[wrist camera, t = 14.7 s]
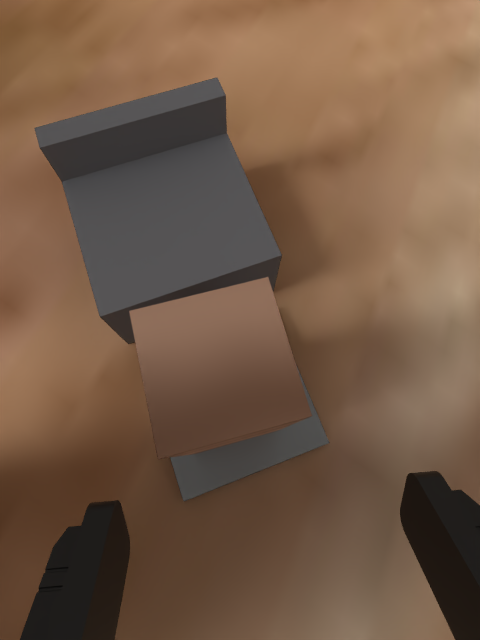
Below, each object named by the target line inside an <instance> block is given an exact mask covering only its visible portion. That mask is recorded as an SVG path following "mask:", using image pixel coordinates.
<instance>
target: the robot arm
mask: <svg viewBox="0 0 480 640" xmlns="http://www.w3.org/2000/svg"><path fill="white" fill-rule="evenodd" d="M400 517H401V522H402V526H403V529H404V532H405V534H406V536H407V538H408V540H409V543H410V545H411V547H412V549H413V551H414V553H415V555H416V557H417V560H418V562H419V564H420V566H421V568H422V570H423V572H424V574H425V576H426V579H427V581H428V583H429V585H430V587H431V589H432V591H433V593H434V596H435V598H436V600H437V602H438V604H439V606H440V608H441V610H442V612H443V615H444V617H445V619H446V621H447V623H448V625H449V627H450V629H451V631H452V634H453V636H454V638H455V640H480V505H478V504H477V503H476V502H475V501H474V500H472V499H471V498H470V497H469V496H468V495H466V494H465V493H464V492H463V491H462V490H454V491H452V490H451V489H450V487H449V486H448V484H447V483H446V481H445V479H444V478H443V477H442V475H441V474H440V473H439V472H437V471H430V472H418V473H409V474H408V476H407V479H406V483H405V488H404V493H403V498H402V502H401V507H400ZM129 554H130V539H129V533H128V529H127V526H126V522H125V518H124V514H123V511H122V507H121V503H120V501H118V500H116V501H105V502H94V503H90V504H89V505H88V507H87V510H86V513H85V516H84V519H83V522H82V526H73V527H68V528H67V529H66V531H65V532H64V533H63V535H62V536H61V537H60V539H59V540H58V541H57V543H56V544H55V545H54V547H53V549H52V552H51V555H50V558H49V560H48V563H47V566H46V571H45V573H44V574H43V577H42V580H41V583H40V585H39V591H38V592H37V594H36V596H35V599H34V602H33V605H32V607H31V610H30V613H29V616H28V619H27V621H26V624H25V627H24V630H23V632H22V635H21V638H20V640H114V639H115V634H116V628H117V623H118V617H119V612H120V606H121V601H122V595H123V590H124V584H125V579H126V573H127V567H128V562H129Z"/></svg>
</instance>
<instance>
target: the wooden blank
mask: <svg viewBox="0 0 480 640" xmlns="http://www.w3.org/2000/svg"><path fill="white" fill-rule="evenodd" d="M129 313H130V318H131V323H132V328H133V333H134V338H135V343H136V349H137V354H138V359H139V364H140V369H141V374H142V379H143V385H144V390H145V395H146V400H147V405H148V410H149V415H150V421H151V426H152V431H153V436H154V441H155V446H156V451H157V457H158V459H163V458H170V457H177V456H184V455H192V454H197V453H200V452H204V451H207V450H211V449H214V448H218V447H221V446H225V445H229V444H232V443H236V442H239V441H243V440H246V439H250V438H253V437H257V436H261V435H264V434H268V433H271V432H275V431H278V430H281V429H283V428H285V427H288V426H290V425H292V424H295V423H297V422H299V421H302V420H304V419H306V418H309V417H311V416H312V414H311V411H310V407H309V404H308V401H307V398H306V395H305V392H304V388H303V385H302V382H301V379H300V376H299V373H298V369H297V366H296V363H295V360H294V357H293V354H292V350H291V347H290V344H289V341H288V338H287V335H286V332H285V328H284V325H283V322H282V319H281V316H280V313H279V309H278V306H277V303H276V300H275V297H274V294H273V290H272V287H271V284H270V281H269V278H268V277H266V278H261V279H257V280H253V281H249V282H245V283H241V284H237V285H233V286H229V287H225V288H221V289H217V290H213V291H208V292H204V293H200V294H196V295H192V296H188V297H184V298H180V299H176V300H172V301H168V302H164V303H160V304H155V305H151V306H147V307H143V308H139V309H135V310H131V311H129Z"/></svg>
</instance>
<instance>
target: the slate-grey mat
mask: <svg viewBox="0 0 480 640" xmlns="http://www.w3.org/2000/svg"><path fill="white" fill-rule="evenodd" d="M296 366H297V365H296ZM297 369H298V367H297ZM298 373H299V376H300V379H301V382H302V385H303V388H304V392H305V395H306V398H307V401H308V404H309V407H310V411H311V414H312V416H311V417H309V418H306V419H304V420H302V421H299V422H297V423H295V424H292V425H290V426H288V427H285V428H283V429H281V430H278V431H275V432H271V433H268V434H264V435H261V436H257V437H253V438H250V439H246V440H243V441H239V442H236V443H232V444H229V445H225V446H221V447H218V448H214V449H211V450H207V451H204V452H200V453H197V454H192V455H184V456H177V457H170V459H171V462H172V465H173V468H174V472H175V475H176V478H177V482H178V485H179V488H180V492H181V495H182V498H183V501H186V500H189V499H191V498H194V497H196V496H199V495H201V494H204V493H206V492H209V491H211V490H213V489H216V488H218V487H221V486H223V485H226V484H228V483H231V482H233V481H236V480H238V479H241V478H243V477H246V476H248V475H251V474H253V473H256V472H258V471H261V470H263V469H266V468H268V467H271V466H273V465H276V464H278V463H280V462H283V461H285V460H288V459H290V458H293V457H295V456H298V455H300V454H303V453H305V452H308V451H310V450H313V449H315V448H318V447H320V446H323V445H325V444H328V443H329V441H328V438H327V436H326V434H325V431H324V429H323V426H322V424H321V422H320V419H319V417H318V415H317V412H316V410H315V408H314V405H313V403H312V400H311V398H310V396H309V393H308V391H307V389H306V386H305V384H304V382H303V379H302V377H301V374H300V372H299V370H298Z"/></svg>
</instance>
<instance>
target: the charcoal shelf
mask: <svg viewBox="0 0 480 640" xmlns="http://www.w3.org/2000/svg"><path fill="white" fill-rule="evenodd" d="M35 132H36V136H37V139H38V143H39V147H40V149H41V150H42V152H43V154H44V155H45V157H46V158H47V160H48V161H49V163H50V164H51V166H52V167H53V169H54V170H55V172H56V173H57V175H58V176H59V178H60V179H61V181H62V184H63V187H64V191H65V195H66V198H67V202H68V205H69V209H70V212H71V216H72V219H73V223H74V227H75V230H76V234H77V237H78V241H79V244H80V248H81V252H82V255H83V259H84V262H85V266H86V269H87V273H88V276H89V280H90V284H91V287H92V291H93V294H94V298H95V301H96V305H97V308H98V312H99V316H100V317H101V318H102V319H103V320H104V321H105V322H106V323H107V324H108V325H109V326H110V327H111V328H112V329H113V330H114V331H115V332H116V333H117V334H118V335H119V336H120V337H121V338H122V339H123V340H125V341H126V342H127V343H128V344H130V343H133V342H135V338H134V333H133V328H132V323H131V318H130V313H129V311H131V310H135V309H139V308H143V307H147V306H151V305H155V304H160V303H164V302H168V301H172V300H176V299H180V298H184V297H188V296H192V295H196V294H200V293H204V292H208V291H213V290H217V289H221V288H225V287H229V286H233V285H237V284H241V283H245V282H249V281H253V280H257V279H261V278H266V277H268V278H269V281H270V284H271V287H272V290H273V291H274V286H275V282H276V278H277V274H278V269H279V265H280V261H281V257H282V255H281V252H280V250H279V248H278V246H277V243H276V241H275V239H274V237H273V235H272V232H271V230H270V228H269V226H268V223H267V221H266V219H265V217H264V215H263V212H262V210H261V208H260V206H259V203H258V201H257V199H256V197H255V195H254V192H253V190H252V188H251V186H250V183H249V181H248V179H247V177H246V175H245V172H244V170H243V168H242V166H241V163H240V161H239V159H238V157H237V155H236V152H235V150H234V148H233V146H232V143H231V141H230V139H229V137H228V135H227V125H226V95H225V93H224V91H223V89H222V87H221V84H220V82H219V80H218V78H213V79H210V80H206V81H202V82H199V83H195V84H192V85H188V86H184V87H181V88H177V89H174V90H170V91H166V92H163V93H159V94H155V95H152V96H148V97H145V98H141V99H137V100H134V101H130V102H127V103H123V104H119V105H116V106H112V107H108V108H105V109H101V110H98V111H94V112H90V113H87V114H83V115H80V116H76V117H72V118H69V119H65V120H62V121H58V122H54V123H51V124H47V125H43V126H40V127H36V128H35Z"/></svg>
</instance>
